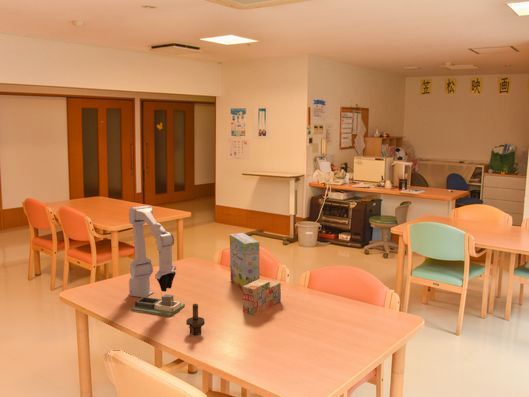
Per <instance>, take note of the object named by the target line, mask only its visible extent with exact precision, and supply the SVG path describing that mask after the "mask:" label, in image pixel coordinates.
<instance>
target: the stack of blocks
mask: <svg viewBox="0 0 529 397" xmlns="http://www.w3.org/2000/svg"><path fill="white" fill-rule="evenodd" d="M281 284H282V283H281V282H280V281H274V280H271V279H270V280H265V279H264V280H263V279H261V278H260V279H258V280H256V281H254V282H252V283H249V284H247V285H245V286H243V290H242V313H244V314H245V313H246V314H248V315H252V316H255V315H257V314H259V313H261V312H262V311H265V310H267V309H268V308H270V307H272V306H274V305H275V304H277V303H280V302H281V300H282V298H281V294H282V293H281V292H282V291H281V290H282V287H281Z"/></svg>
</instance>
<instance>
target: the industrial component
mask: <svg viewBox="0 0 529 397" xmlns="http://www.w3.org/2000/svg"><path fill="white" fill-rule="evenodd" d="M205 324H206V323H205V318H203V317H201V316H199V305H198V303H193V304H192V317H189V318H187V319H186V326H188V328H189V334H190V335H191V336H195V335H196V336H197V335H201V333H202V326H205Z"/></svg>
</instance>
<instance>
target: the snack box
mask: <svg viewBox="0 0 529 397" xmlns="http://www.w3.org/2000/svg"><path fill="white" fill-rule="evenodd" d="M228 236H229V257H230V259H229V261H230V281H231V282H232V283H233V284H234V285H236V286H237V288H239V289H240V290H241V291H243V286H245V285H247V284H249V283H252V282H254V281H256V280H258V279H260V280H261V277H260V272H261V271H260V268H261V267H260V241H259V240H256V239H255V238H253V237H251V236H249V235H247V234H246V233H244V232H239V233H229V235H228Z"/></svg>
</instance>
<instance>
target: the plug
mask: <svg viewBox="0 0 529 397" xmlns="http://www.w3.org/2000/svg"><path fill="white" fill-rule="evenodd" d="M161 299H162V305H164V306H171V307H173V306H174V301H175V300H174V295H173V294H163V295H162V296H161Z"/></svg>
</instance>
